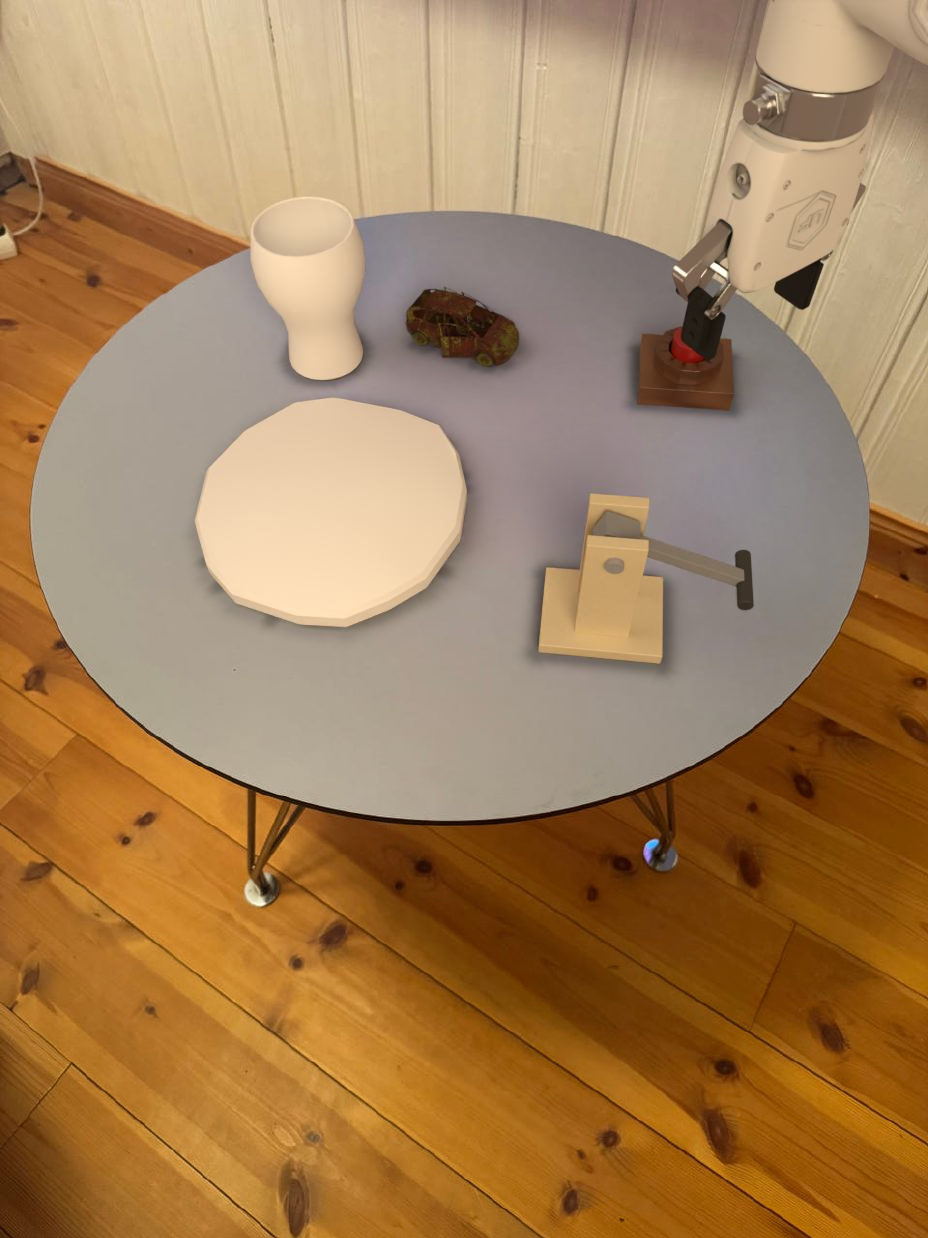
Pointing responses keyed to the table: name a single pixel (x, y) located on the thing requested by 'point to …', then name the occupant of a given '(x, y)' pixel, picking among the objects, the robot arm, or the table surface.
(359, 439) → the decorative plate
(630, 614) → the lever base
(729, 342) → the button block
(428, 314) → the toy car
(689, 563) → the lever
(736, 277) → the robot arm
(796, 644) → the table surface
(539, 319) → the table surface
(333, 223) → the cup
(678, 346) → the button
